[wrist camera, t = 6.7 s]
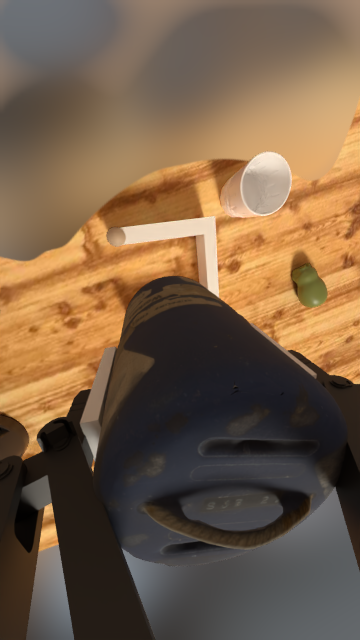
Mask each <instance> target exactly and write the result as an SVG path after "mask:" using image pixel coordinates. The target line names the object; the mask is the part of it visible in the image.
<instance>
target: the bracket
mask: <svg viewBox="0 0 360 640" xmlns="http://www.w3.org/2000/svg"><path fill="white" fill-rule="evenodd" d="M187 236H196V248H197V260H198V272H199V283H200V284H201V285H203V286H204V287H205V288H207V289H208V290H209V291H210V292H212V293H213V294H215V295H216V296H217V297H219V287H218V267H217V247H216V227H215V216H212V217H204V218H196V219H187V220H179V221H170V222H162V223H154V224H145V225H137V226H129V227H120V228H118V227H112V228H110V229H109V230H108V232H107V240H108V242H109V243H110V244H111V245H113V246H116V247H118V246H122V245H126V244H133V243H141V242H149V241H156V240H164V239H172V238H179V237H187Z"/></svg>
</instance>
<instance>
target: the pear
mask: <svg viewBox="0 0 360 640" xmlns="http://www.w3.org/2000/svg"><path fill="white" fill-rule="evenodd" d="M292 280H293V281H294V282H296V284H297V286H298V298H299V301H300V302H301V303H302V304H303V305H304V306H306V307H311V308H312V307H318V306H320V305H322V304H323V303H324V302H325V301H326V299H327V288H326V285H325V283H324V281H323V280H322V279H321V278H319V276H318V274H317V271H316V269H315V268H312V267H311V265H310V263H306V264H304V265H303V266H301V267H299V268H297V269H295V270H293V272H292Z"/></svg>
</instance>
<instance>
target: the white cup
mask: <svg viewBox="0 0 360 640" xmlns="http://www.w3.org/2000/svg"><path fill="white" fill-rule="evenodd" d="M291 182H292V177H291V171H290V167H289V165H288V163H287V161H286V160H285V159H284V158H283V157H282V156H281V155H280V154H278V153H275V152H271V151H268V152H262V153H260V154H258V155H256V156H255V157H254V158H252V159H251V160H250V161H249V162H248V163H246V164H245V165H244V166H243V167H242V168H240V169H239V170H238V171H237V172H236V173H235V174H234V175H233V176H232V177H231V178H230V179H229V180H227V182H226V183H225V185H224V186H223V187H222V190H221V195H220V202H221V207H222V208H223V210H224V212H225V213H226V214H228V215H229V216H231V217H255V216H266V215H270V214H272V213H274V212H276V211H277V210H278V209H280V208H281V207H282V205H283V204H284V203H285V201H286V199H287V198H288V195H289V193H290V189H291Z"/></svg>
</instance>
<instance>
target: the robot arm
mask: <svg viewBox="0 0 360 640" xmlns="http://www.w3.org/2000/svg"><path fill="white" fill-rule="evenodd" d="M250 324H251V326H252V327H254V328H255V329H256V330H257V331H258V332H260V333H261V334H262V335H263V336H265V337H266V338H267V339H268V340H269V341H271V342H272V343H273V344H274V345H275V346H277V347H278V348H279V349H280V350H281V351H283V352H284V353H285V354H286V355H288V356H289V357H290V358H291V359H293V360H294V361H295V362H296V363H297V364H299V365H300V366H301V367H302V368H304V369H305V370H306V371H307V372H308V373H310V374H311V375H312V376H313V377H314V378H315V379H316V380H318V381H319V382H320V383H321V384H322V385H323V386H324V387H325V388H326V389H327V390H328V391H329V393H330V394H331V395H332V397H333V398H334V399H335V401H336V403H337V404H338V406H339V408H340V409H341V412H342V414H343V415H344V418H345V421H346V424H347V428H348V440H347V448H346V454H345V459H344V463H343V467H342V471H341V474H340V477H339V480H338V482H337V484H336V486H335V487H336V491H337V494H338V497H339V501H340V504H341V508H342V511H343V515H344V518H345V521H346V525H347V529H348V532H349V535H350V539H351V543H352V546H353V550H354V553H355V556H356V560H357V563H358V567H359V570H360V384H353V383H352V382H351V381H350V380H348V379H346V378H344V377H341V376H336V375H329V374H327V373H326V372H325V371H323V370H322V369H321V368H319V367H318V366H317V365H315V364H314V363H312V362H311V361H310V360H308V359H306V357H304V356H303V355H302V354H300V353H298V352H296V351H293V350H288V351H287V350H286V349H284V348H283V347H282V346H280V345H279V344H278V343H277V342H275V341H274V340H273V339H272V338H270V337H269V336H268V335H267V334H265V333H264V332H263V331H261V330H260V329H259V328H258V327H256V326H255V325H254V324H253V323H250ZM116 351H117V348H116V347H111V348H105V351H104V354H103V356H102V359H101V362H100V365H99V368H98V371H97V374H96V377H95V380H94V383H93V386H92V389H88V390H82V391H80V392H79V393H78V395H77V396H76V397H75V398H74V400H73V403H72V406H71V407H70V410H69V412H68V414H67V417H60V418H57V419H54V420H52V421H50V422H49V423H47V424H46V425H45V426H44V427H43V428H42V429H41V430H40V431H39V433H38V434H37V441H38V443H39V445H40V447H41V449H42V452H40V453H39V454H36V455H34V456H32V457H30V458H28V459H26V460H24V461H23V460H22V458H21V457H22V456H23V454H24V452H25V450H26V449H27V447H28V444H29V436H28V433H27V431H26V430H25V428H24V427H23V426H22V425H21V424H20V423H18V422H17V421H15V420H13V419H11V418H9V417H6V416H3V415H0V640H26V634H27V627H28V620H29V613H30V606H31V599H32V592H33V585H34V577H35V570H36V564H37V556H38V549H39V542H40V535H41V528H42V521H43V514H44V507H45V506H47V505H48V504H50V503H52V506H53V512H54V518H55V524H56V530H57V536H58V542H59V549H60V555H61V561H62V567H63V573H64V579H65V584H66V591H67V597H68V603H69V609H70V615H71V621H72V628H73V634H74V640H156V639H155V637H154V634H153V631H152V629H151V626H150V623H149V620H148V618H147V615H146V612H145V610H144V607H143V604H142V602H141V599H140V596H139V594H138V591H137V589H136V586H135V583H134V580H133V578H132V575H131V572H130V570H129V567H128V565H127V562H126V559H125V557H124V554H123V551H122V548H121V546H120V544H119V541H118V539H117V537H116V534H115V532H114V530H113V527H112V525H111V522H110V520H109V518H108V515H107V513H106V510H105V508H104V505H103V503H102V502H100V501H99V500H98V498H97V497H96V495H95V492H94V488H93V471H92V468H91V467H92V462H93V458H94V461H95V458H96V453H97V448H98V442H99V437H100V432H101V427H102V421H103V416H104V410H105V405H106V400H107V395H108V390H109V385H110V380H111V376H112V372H113V367H114V361H115V356H116Z"/></svg>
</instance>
